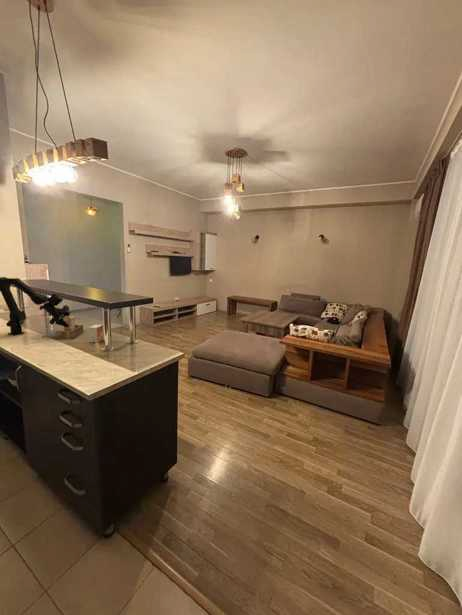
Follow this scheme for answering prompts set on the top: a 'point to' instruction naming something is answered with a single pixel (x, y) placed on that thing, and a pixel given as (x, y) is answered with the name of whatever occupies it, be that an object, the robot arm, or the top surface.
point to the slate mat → (50, 334)
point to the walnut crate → (69, 333)
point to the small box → (95, 333)
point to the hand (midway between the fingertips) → (70, 325)
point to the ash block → (69, 323)
